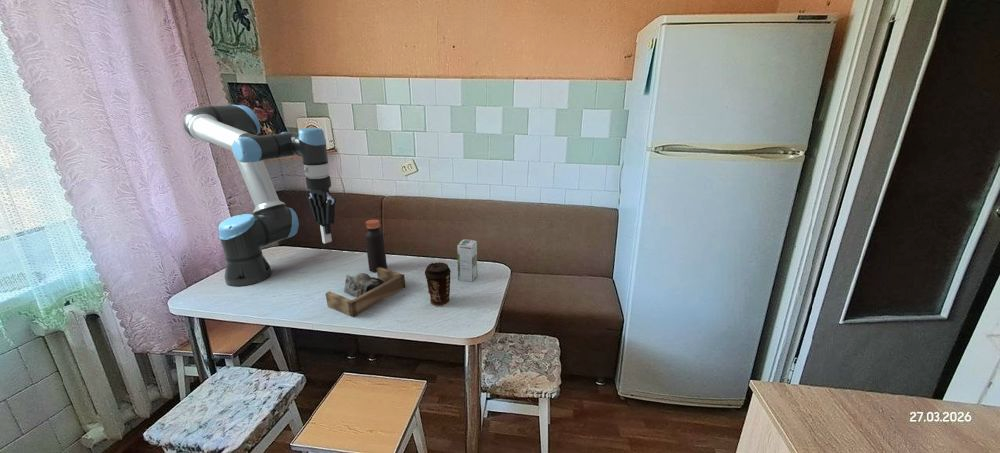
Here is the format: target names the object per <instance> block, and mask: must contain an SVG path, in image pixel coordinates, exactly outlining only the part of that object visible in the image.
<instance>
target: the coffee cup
mask: <svg viewBox="0 0 1000 453" xmlns="http://www.w3.org/2000/svg"><path fill="white" fill-rule="evenodd" d="M424 275H425V279H426V283H427V284H426V285H427V286H426V287H427V291H428V294H429V295H430V300H429V301H430V302H429V303H430V305H431V306H434V307H440V308H441V307H444V306H446V305H448V304H449V302H450V296H451V268H450V267H449V264H448V263H445V262H442V261H441V262H431V263H429V264H428V265H427V266H426V268H425V270H424Z"/></svg>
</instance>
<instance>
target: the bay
mask: <svg viewBox="0 0 1000 453" xmlns="http://www.w3.org/2000/svg"><path fill="white" fill-rule="evenodd" d="M376 275H377V278H378V279H381V280H382V281H384V283H383V284H381V285H379V286H377V287H375V288H374V289H372V290H370V291H368V292H366V293H361V295H360V296H358V297H355V298H352V299H351V298H348V297H345V296H344V295H343V296H342V295H341V294H337V293H335V292H333V291H330V290H329V291H326V292H325V299H326V305H327V307H328V308H330V309H333V310H335V311H337V312H339V313H342V314H344V315H347V316H349V317H352V318H354V317H356V316H358V315H360V314H362V313H363V312H365V311H367V310H369V309H371V308H372V307H374V306H375V305H377V304H379V303H381V302H383V301H385V300H386V299H388V298H389V297H391V296H393V295H395V294H397V293H398V292H400V291H401V290H403V289H405V288H406V287H407V286H406V277H405V274H404V273H400V272H397V271H393V270H390V269H384V268H381V267H379V268H377V273H376Z"/></svg>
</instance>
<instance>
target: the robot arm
mask: <svg viewBox="0 0 1000 453" xmlns="http://www.w3.org/2000/svg"><path fill="white" fill-rule="evenodd" d="M182 124H183V129H184V131H185V132H186V133H187V135H189V136H190V137H191V138H192V139H193V140H197V141H199V142H202V143H211V144H214V145H216V146H217V147H221V148H223V149H226V150H229V151H231V152H232V154H233V157H234V158H235V161H236V164H237V167H238V169H239V171H240V172H241V176H242V178H243V181H244V183H245V185H246V188H247V190H248V192H249V195H250V198H251V201H252V202H253V205H254V210H253V211H252V214H251V213H243V214H237V215H233V216H230V217H228V218H226V219H224V220H223V221H221V222H220V224H219V225H218V234H219V236H218V237H219V240H220V242H221V246H222V249H223V255H224V258H225V261H226V263H225V271H224V276H223V277H224V281H225V284H226V285H228V286H232V287H242V286H249V285H253V284H256V283H259V282H262V281H264V280H266V279H268V278H270V276H271V275H272V273H273V271H272V266H271V264H269V262H268V261H267V259H266V258H265V256H264V254H263V250H262V247H265V246H267V245H271V244H274V243H277V242H281V241H284V240H287V239H289V238H292V237H294V236H295V235H296V234H297V233H298V230H299V226H300V225H299V218H298V215H297V213H296V211H295V210H294V209H293V208H291V207H287V205H286V203H285V202H284V201H281V200H280V199H279V196H278V194H277V192H276V189H275V186H274V184H273V181H272V179H271V177H270V174H269V171H268V169H267V167H266V164H265V161H267V160H274V159H280V158H282V159H283V158H288V157H296V156H297V157H301V158H302V164H303V170H304V175H305V177H306V178H305V182H306V183H305V184H306V188H307V189H308V190H310V191H309V192H310V193H307V194H306V195H305V197H306V199H307V201H308V203H309V206H310V209H311V213H312V216H313V219H314V222H316V223H318V225H319V230H320V235H321V241H322V243H323V244H328V243H331V242H332V241H333V239H332V230H331V225H333V224H335V213H336V212H335V211H336V208H335V207H336V203H337V199H336V197H332V196H331V192H330V188H331V187H332V182H331V180H332V179H331V176H330V174H331V172H330V163H329V160H328V150H327V149H328V147H327V140H326V136H325V132H324V130H323V129H322V128H318V127H305V128H300V129H298V132H294V131H282V132H280V133H275V134H265V135H259V134H260V132H261V123H260V121H259V118H258V116H257V115H256V113H255V112H254V111H253V109H251V108H250V107H248V106H246V105H244V104H243V105H242V104H241V105H240V104H239V105H237V104H231V105H229V104H227V105H210V106H209V105H204V106H203V105H202V106H197V107H195V108H192V109H191V110H189V111H188V112H187V113H186V114H185V116H184V117H183V122H182Z"/></svg>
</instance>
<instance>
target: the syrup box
mask: <svg viewBox="0 0 1000 453" xmlns="http://www.w3.org/2000/svg"><path fill="white" fill-rule="evenodd" d="M456 247H457V250H456V251H457V252H456V253H457V280H458V281H463V282H471V283H472V282H474V280H475V279H476V277H477V276H478V241H477V240H474V239H462V240H461V241H460V242H459V243H458V244H457V246H456Z"/></svg>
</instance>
